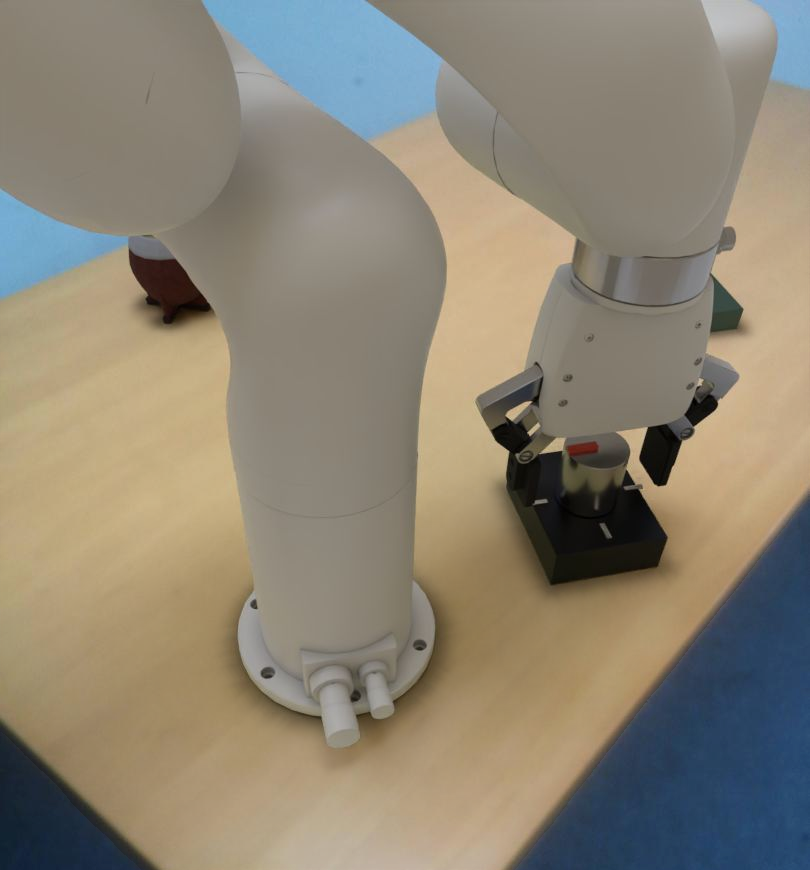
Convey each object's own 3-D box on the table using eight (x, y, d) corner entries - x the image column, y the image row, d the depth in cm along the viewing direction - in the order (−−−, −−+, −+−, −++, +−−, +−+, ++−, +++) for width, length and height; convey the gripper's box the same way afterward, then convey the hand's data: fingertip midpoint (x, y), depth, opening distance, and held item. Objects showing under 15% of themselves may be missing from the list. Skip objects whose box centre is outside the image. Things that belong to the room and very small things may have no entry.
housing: (737, 329, 82) (750, 291, 79) (638, 341, 80) (648, 303, 77) (680, 265, 90) (690, 228, 87) (589, 275, 88) (596, 238, 85)
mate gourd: (201, 330, 80) (172, 167, 69) (120, 320, 81) (79, 157, 70) (227, 288, 85) (204, 130, 74) (150, 279, 86) (116, 121, 75)
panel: (662, 566, 61) (673, 535, 59) (546, 586, 60) (552, 555, 57) (607, 472, 68) (615, 440, 65) (501, 488, 66) (506, 456, 64)
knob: (602, 470, 63) (615, 418, 60) (627, 512, 60) (642, 460, 57) (545, 479, 63) (555, 427, 59) (568, 522, 60) (579, 470, 56)
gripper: (749, 210, 52) (677, 432, 65) (472, 237, 49) (453, 464, 61) (818, 274, 47) (726, 501, 60) (514, 308, 44) (484, 540, 57)
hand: (587, 482), depth 61 cm, fingers open, 9 cm apart
